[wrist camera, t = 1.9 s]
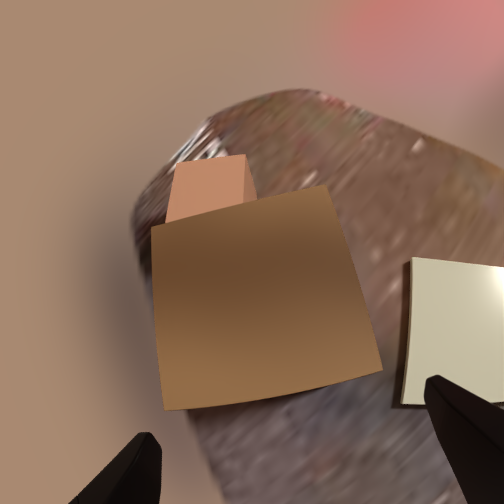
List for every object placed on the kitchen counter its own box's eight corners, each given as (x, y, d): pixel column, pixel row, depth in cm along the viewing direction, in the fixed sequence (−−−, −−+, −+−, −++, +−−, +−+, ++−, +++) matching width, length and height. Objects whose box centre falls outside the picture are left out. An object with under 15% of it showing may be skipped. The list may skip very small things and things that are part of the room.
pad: (517, 400, 15) (521, 399, 14) (400, 403, 17) (402, 403, 16) (516, 272, 19) (520, 269, 18) (410, 260, 21) (412, 256, 20)
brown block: (333, 386, 18) (382, 370, 6) (258, 402, 19) (164, 410, 6) (317, 316, 21) (325, 184, 8) (246, 331, 21) (151, 227, 8)
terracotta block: (255, 252, 23) (242, 216, 19) (191, 255, 24) (165, 222, 20) (256, 195, 26) (245, 154, 21) (197, 201, 26) (176, 163, 22)
